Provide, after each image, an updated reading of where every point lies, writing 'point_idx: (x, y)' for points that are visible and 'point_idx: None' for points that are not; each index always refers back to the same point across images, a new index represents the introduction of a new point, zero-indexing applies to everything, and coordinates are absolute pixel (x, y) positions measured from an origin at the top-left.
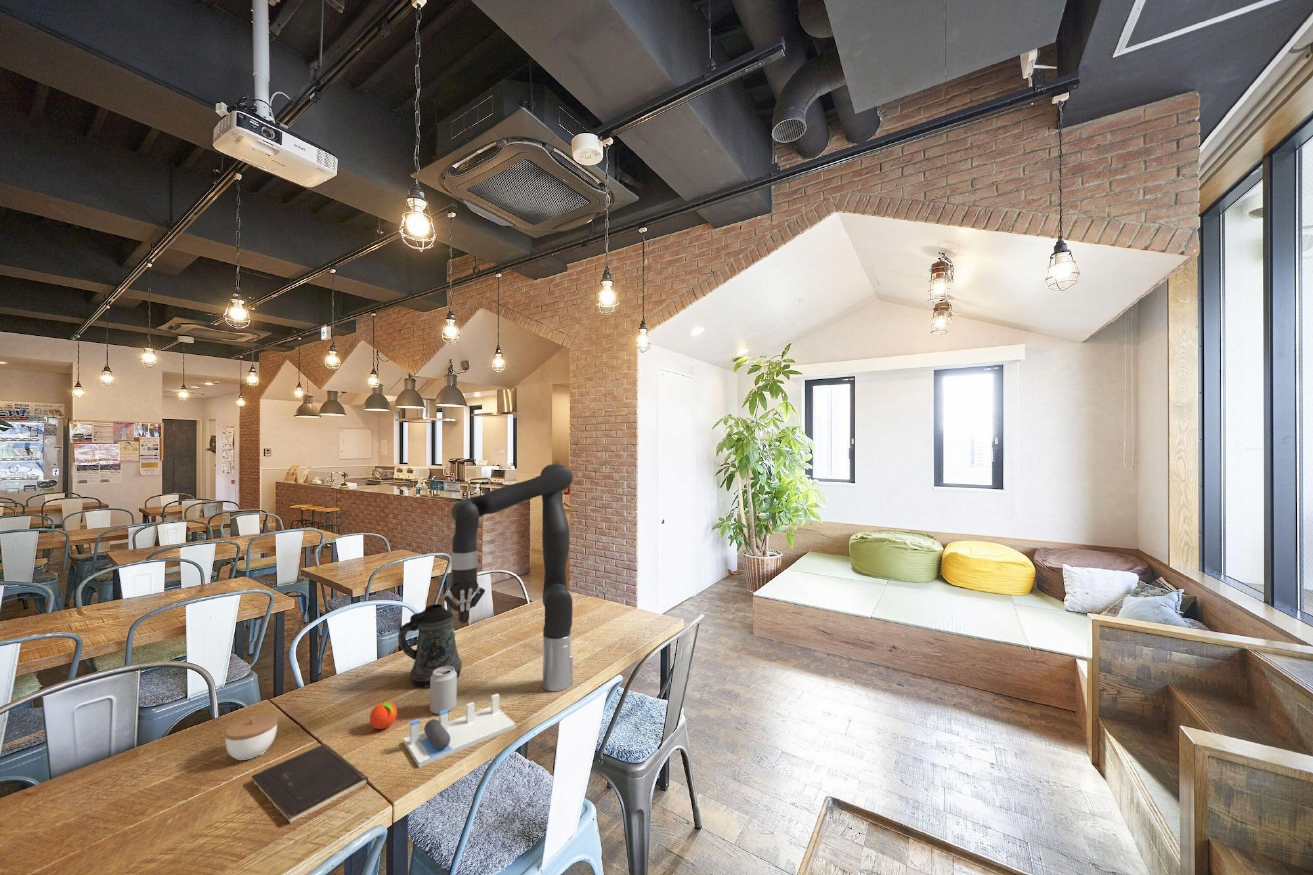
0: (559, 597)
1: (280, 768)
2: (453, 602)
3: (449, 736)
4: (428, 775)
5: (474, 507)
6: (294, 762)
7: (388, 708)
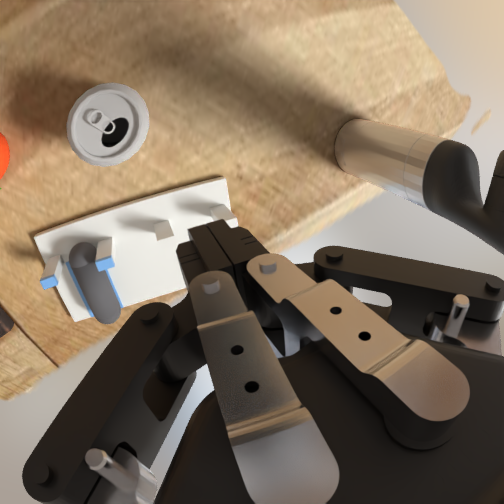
0: None
1: None
2: (160, 444)
3: (119, 314)
4: (92, 337)
5: None
6: None
7: None
